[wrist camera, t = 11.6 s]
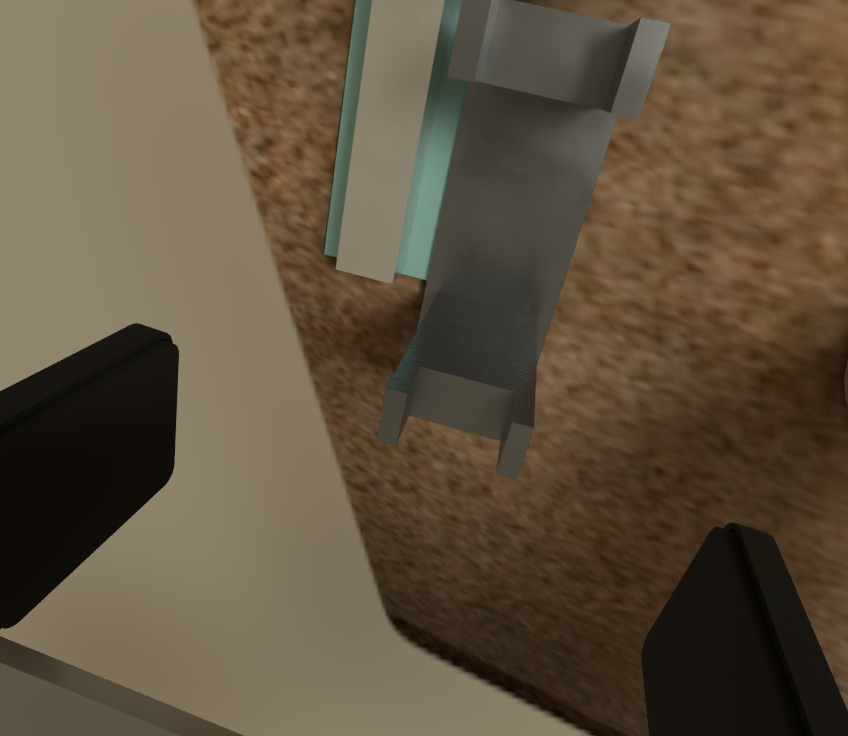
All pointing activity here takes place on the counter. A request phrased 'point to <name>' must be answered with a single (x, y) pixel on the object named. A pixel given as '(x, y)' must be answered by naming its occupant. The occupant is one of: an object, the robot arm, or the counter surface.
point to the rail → (392, 133)
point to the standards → (514, 209)
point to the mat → (437, 154)
